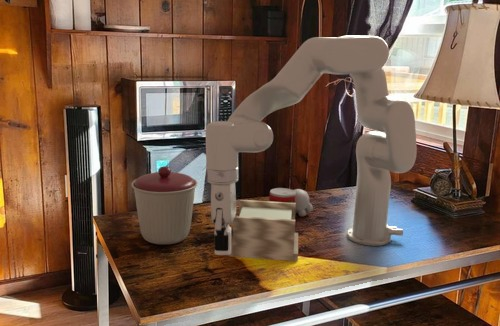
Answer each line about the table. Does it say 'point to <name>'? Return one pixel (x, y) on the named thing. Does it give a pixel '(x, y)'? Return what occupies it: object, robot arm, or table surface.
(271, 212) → the trapdoor
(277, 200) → the canned food
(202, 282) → the table surface
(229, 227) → the pepper shaker
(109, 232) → the table surface
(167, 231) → the canister
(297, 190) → the chubby cartoon animal
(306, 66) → the robot arm
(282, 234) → the stand
